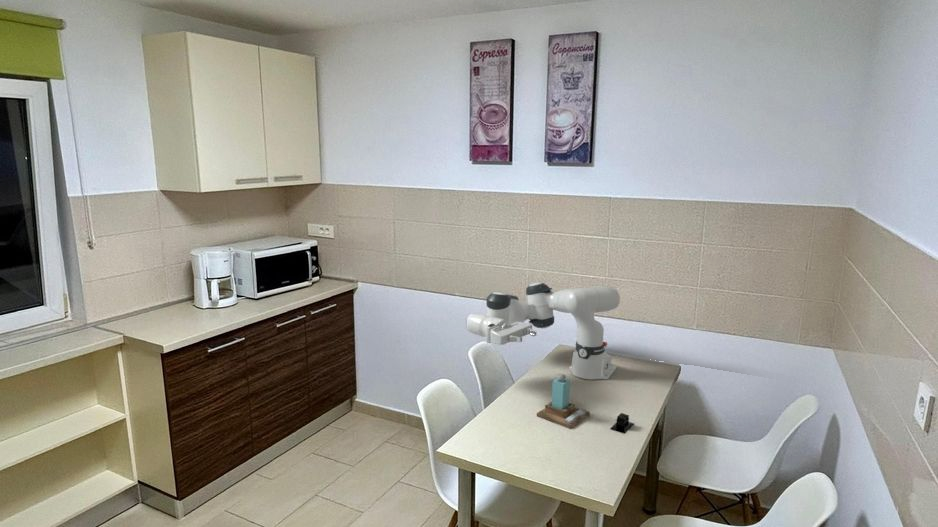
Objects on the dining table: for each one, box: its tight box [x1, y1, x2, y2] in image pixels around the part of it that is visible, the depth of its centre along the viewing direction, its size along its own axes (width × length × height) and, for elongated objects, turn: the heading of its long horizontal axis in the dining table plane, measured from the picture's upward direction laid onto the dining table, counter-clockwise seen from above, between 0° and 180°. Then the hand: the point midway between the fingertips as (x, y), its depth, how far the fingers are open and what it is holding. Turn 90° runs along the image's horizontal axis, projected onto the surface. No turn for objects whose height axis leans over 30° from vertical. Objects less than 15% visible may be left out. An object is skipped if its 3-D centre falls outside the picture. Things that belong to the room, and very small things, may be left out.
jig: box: [536, 400, 591, 430], centre depth 199 cm, size 14×14×4 cm
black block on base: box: [609, 412, 635, 435], centre depth 191 cm, size 12×7×5 cm, turn 143°
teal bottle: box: [551, 373, 571, 410], centre depth 198 cm, size 4×4×14 cm
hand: (528, 336), depth 206 cm, fingers open, 8 cm apart
